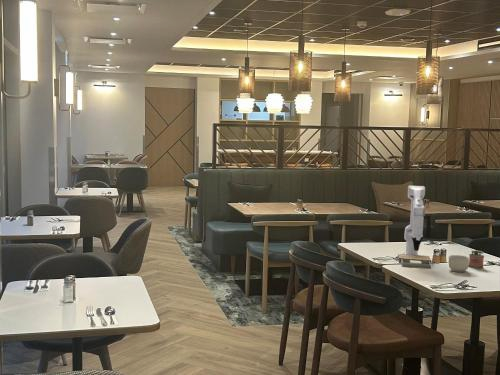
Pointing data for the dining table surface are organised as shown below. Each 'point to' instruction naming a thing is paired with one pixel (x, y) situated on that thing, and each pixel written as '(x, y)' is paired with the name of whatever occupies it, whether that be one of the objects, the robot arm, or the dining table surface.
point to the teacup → (458, 263)
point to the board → (413, 257)
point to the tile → (415, 262)
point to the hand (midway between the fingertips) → (416, 250)
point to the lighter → (476, 259)
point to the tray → (407, 264)
